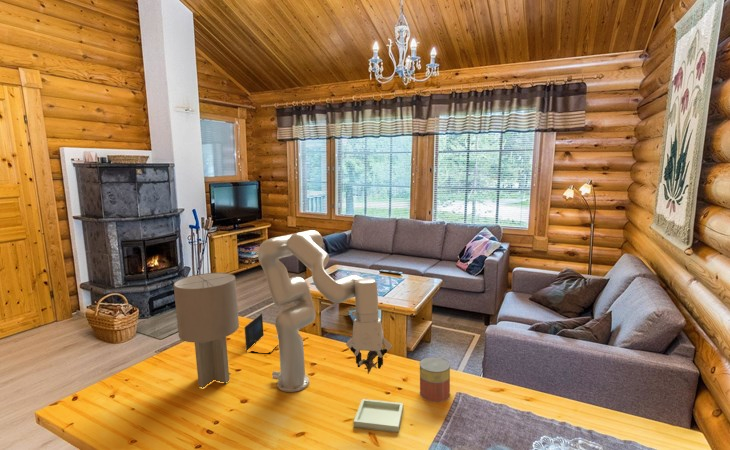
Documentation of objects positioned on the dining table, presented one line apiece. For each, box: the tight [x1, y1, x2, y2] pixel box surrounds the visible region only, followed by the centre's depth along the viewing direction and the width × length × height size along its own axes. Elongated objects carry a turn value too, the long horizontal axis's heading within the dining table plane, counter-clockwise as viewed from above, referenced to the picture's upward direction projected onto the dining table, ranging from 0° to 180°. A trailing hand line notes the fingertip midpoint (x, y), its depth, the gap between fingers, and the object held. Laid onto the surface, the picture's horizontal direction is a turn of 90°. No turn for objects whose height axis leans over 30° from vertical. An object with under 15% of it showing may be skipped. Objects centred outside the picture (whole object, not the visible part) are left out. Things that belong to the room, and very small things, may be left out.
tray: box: [353, 398, 404, 433], centre depth 134 cm, size 15×13×2 cm
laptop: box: [244, 313, 278, 352], centre depth 193 cm, size 18×12×13 cm
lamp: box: [173, 272, 240, 388], centre depth 159 cm, size 23×23×43 cm
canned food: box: [419, 356, 451, 403], centre depth 147 cm, size 11×11×12 cm
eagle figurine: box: [359, 351, 378, 375], centre depth 135 cm, size 8×7×9 cm
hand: (369, 365), depth 133 cm, fingers closed on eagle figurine, 6 cm apart
